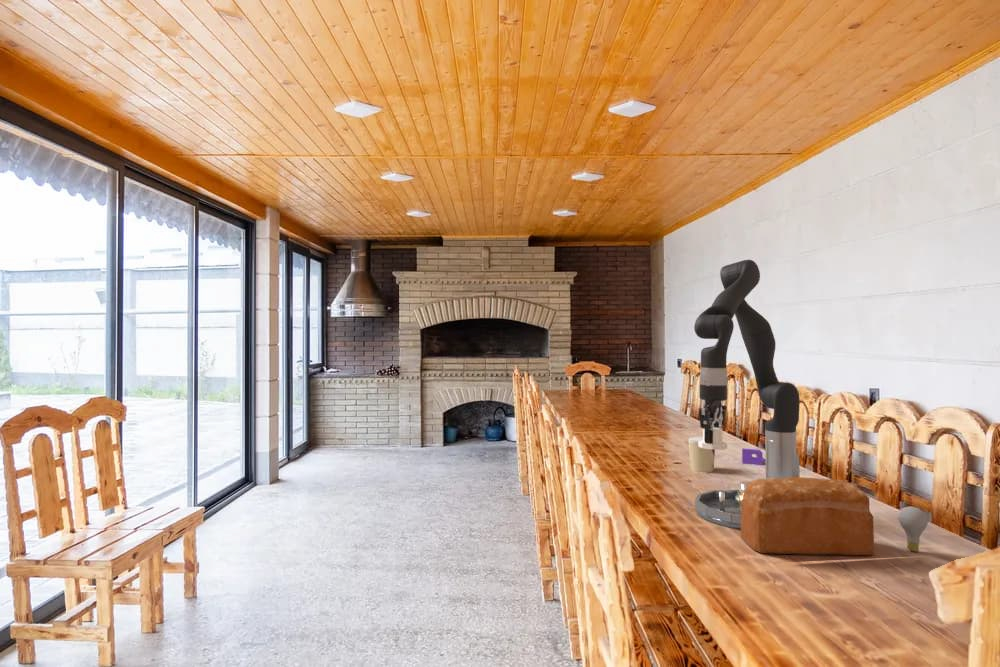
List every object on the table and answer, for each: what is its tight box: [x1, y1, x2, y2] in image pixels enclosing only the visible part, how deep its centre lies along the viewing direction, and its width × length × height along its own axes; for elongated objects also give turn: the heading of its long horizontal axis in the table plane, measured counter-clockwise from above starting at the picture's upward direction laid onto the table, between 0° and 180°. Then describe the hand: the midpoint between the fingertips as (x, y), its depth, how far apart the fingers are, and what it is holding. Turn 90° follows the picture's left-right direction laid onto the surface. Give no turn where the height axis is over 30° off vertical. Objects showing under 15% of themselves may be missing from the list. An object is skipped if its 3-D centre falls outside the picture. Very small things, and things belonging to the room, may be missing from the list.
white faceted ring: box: [698, 427, 728, 451], centre depth 166 cm, size 7×7×6 cm
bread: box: [740, 476, 875, 556], centre depth 133 cm, size 14×26×16 cm, turn 86°
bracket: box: [741, 448, 765, 466], centre depth 220 cm, size 12×7×7 cm, turn 152°
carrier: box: [694, 480, 751, 531], centre depth 156 cm, size 27×27×7 cm
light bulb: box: [897, 506, 929, 553], centre depth 129 cm, size 5×5×10 cm
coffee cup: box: [687, 436, 716, 474], centre depth 208 cm, size 9×9×12 cm
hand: (712, 441), depth 166 cm, fingers closed on white faceted ring, 5 cm apart
